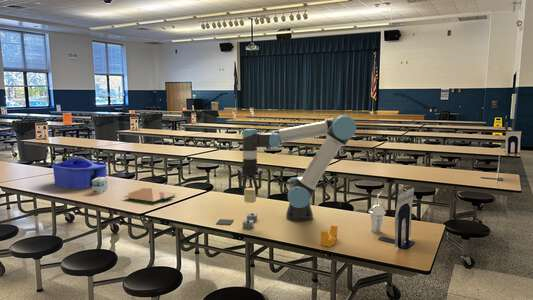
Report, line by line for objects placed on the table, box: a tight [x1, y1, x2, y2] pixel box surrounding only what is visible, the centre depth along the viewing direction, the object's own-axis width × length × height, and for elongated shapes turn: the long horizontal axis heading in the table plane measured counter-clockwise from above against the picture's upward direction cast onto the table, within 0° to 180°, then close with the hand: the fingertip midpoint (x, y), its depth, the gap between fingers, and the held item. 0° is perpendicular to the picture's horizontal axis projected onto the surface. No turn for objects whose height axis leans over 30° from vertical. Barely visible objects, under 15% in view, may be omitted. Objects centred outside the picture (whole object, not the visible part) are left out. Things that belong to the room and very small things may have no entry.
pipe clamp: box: [320, 224, 338, 248], centre depth 176 cm, size 12×4×6 cm, turn 144°
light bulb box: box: [91, 176, 109, 195], centre depth 270 cm, size 11×7×11 cm, turn 179°
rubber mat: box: [215, 218, 234, 226], centre depth 205 cm, size 8×8×1 cm
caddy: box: [51, 155, 108, 190], centre depth 294 cm, size 32×45×23 cm
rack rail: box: [242, 212, 258, 229], centre depth 202 cm, size 5×16×4 cm, turn 172°
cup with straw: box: [368, 190, 387, 234], centre depth 190 cm, size 8×9×20 cm
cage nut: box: [245, 187, 255, 204], centre depth 201 cm, size 4×6×7 cm
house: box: [124, 187, 177, 205], centre depth 253 cm, size 23×33×8 cm
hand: (250, 201), depth 201 cm, fingers closed on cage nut, 4 cm apart
